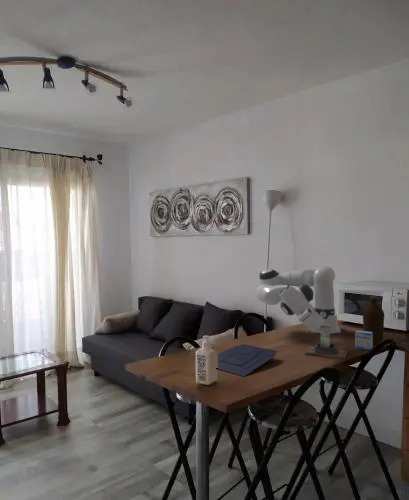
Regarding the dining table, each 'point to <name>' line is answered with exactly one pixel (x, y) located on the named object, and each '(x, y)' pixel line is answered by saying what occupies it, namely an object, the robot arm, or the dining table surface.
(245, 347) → the dark blue flat slab
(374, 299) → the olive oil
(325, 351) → the rack
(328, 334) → the peg block
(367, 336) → the medicine box
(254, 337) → the dining table surface
